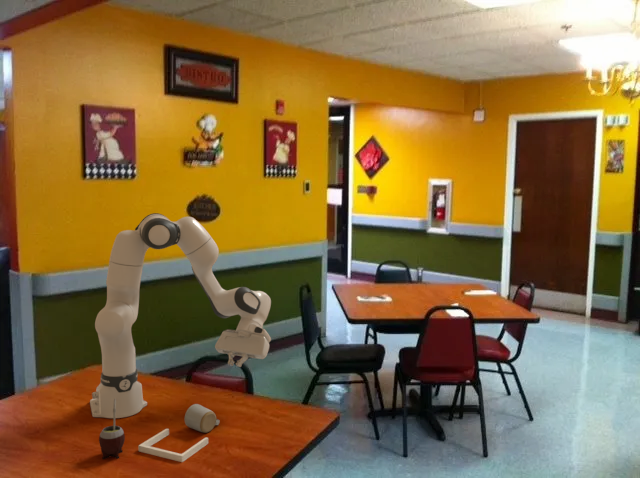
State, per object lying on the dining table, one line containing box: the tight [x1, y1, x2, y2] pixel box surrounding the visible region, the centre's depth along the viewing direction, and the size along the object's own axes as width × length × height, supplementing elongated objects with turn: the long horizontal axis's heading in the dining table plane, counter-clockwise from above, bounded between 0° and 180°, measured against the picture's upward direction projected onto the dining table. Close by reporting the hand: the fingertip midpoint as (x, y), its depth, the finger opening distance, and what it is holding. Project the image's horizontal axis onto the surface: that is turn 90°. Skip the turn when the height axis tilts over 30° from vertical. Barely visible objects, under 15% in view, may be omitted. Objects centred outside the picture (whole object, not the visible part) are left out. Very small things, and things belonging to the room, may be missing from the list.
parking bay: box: [137, 428, 209, 463], centre depth 176 cm, size 16×13×2 cm
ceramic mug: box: [184, 403, 220, 433], centre depth 190 cm, size 11×8×8 cm
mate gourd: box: [98, 399, 126, 460], centre depth 171 cm, size 8×8×15 cm
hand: (234, 365), depth 206 cm, fingers closed
